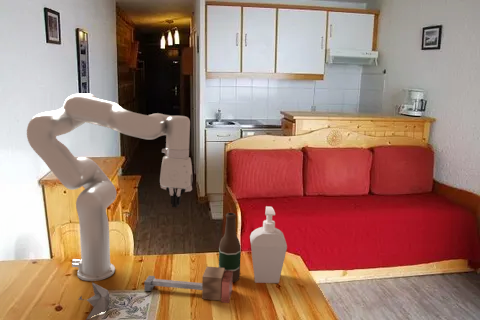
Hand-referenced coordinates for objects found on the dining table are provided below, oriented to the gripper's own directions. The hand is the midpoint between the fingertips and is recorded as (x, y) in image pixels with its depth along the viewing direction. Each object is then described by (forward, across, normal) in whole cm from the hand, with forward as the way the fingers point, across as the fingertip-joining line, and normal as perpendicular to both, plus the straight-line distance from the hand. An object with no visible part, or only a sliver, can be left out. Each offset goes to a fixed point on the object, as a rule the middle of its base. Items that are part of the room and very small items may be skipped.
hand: (175, 206), depth 136 cm
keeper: (+26, +16, -8) cm, 32 cm away
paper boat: (+27, -17, -24) cm, 40 cm away
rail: (+26, +8, -8) cm, 29 cm away
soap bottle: (+26, +32, +8) cm, 42 cm away
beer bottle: (+26, +19, +4) cm, 33 cm away
